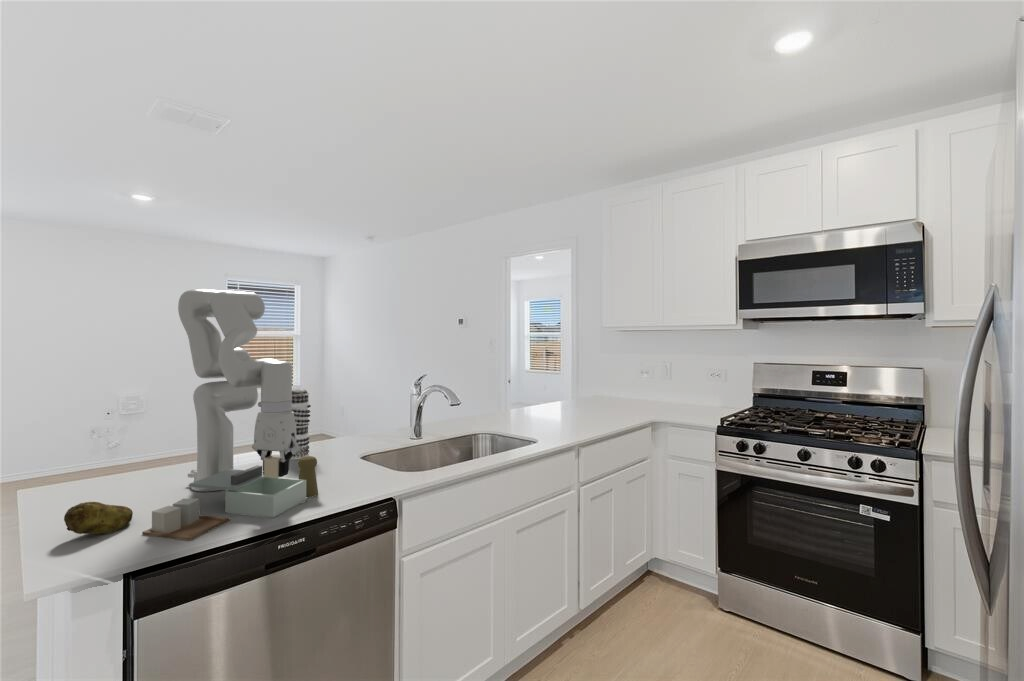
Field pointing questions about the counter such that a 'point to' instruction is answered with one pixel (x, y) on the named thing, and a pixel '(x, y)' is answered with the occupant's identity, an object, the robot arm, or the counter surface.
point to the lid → (231, 479)
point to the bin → (266, 497)
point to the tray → (191, 528)
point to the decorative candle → (301, 421)
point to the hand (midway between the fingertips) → (275, 474)
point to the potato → (97, 518)
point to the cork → (308, 474)
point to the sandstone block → (272, 466)
